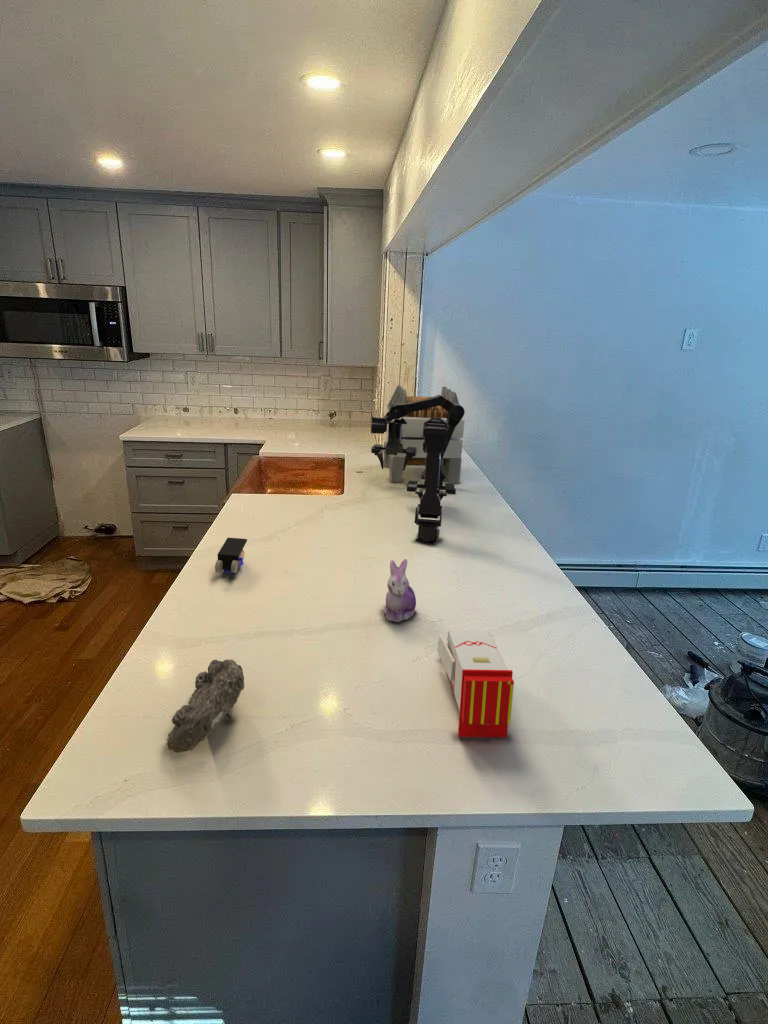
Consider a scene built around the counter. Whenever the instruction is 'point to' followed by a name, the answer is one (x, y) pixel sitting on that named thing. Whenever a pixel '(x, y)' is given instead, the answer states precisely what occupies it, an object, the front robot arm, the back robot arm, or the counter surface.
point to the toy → (478, 682)
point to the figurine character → (230, 556)
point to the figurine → (399, 594)
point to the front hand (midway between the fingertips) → (429, 508)
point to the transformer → (414, 438)
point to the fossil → (206, 705)
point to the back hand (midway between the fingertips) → (393, 469)
